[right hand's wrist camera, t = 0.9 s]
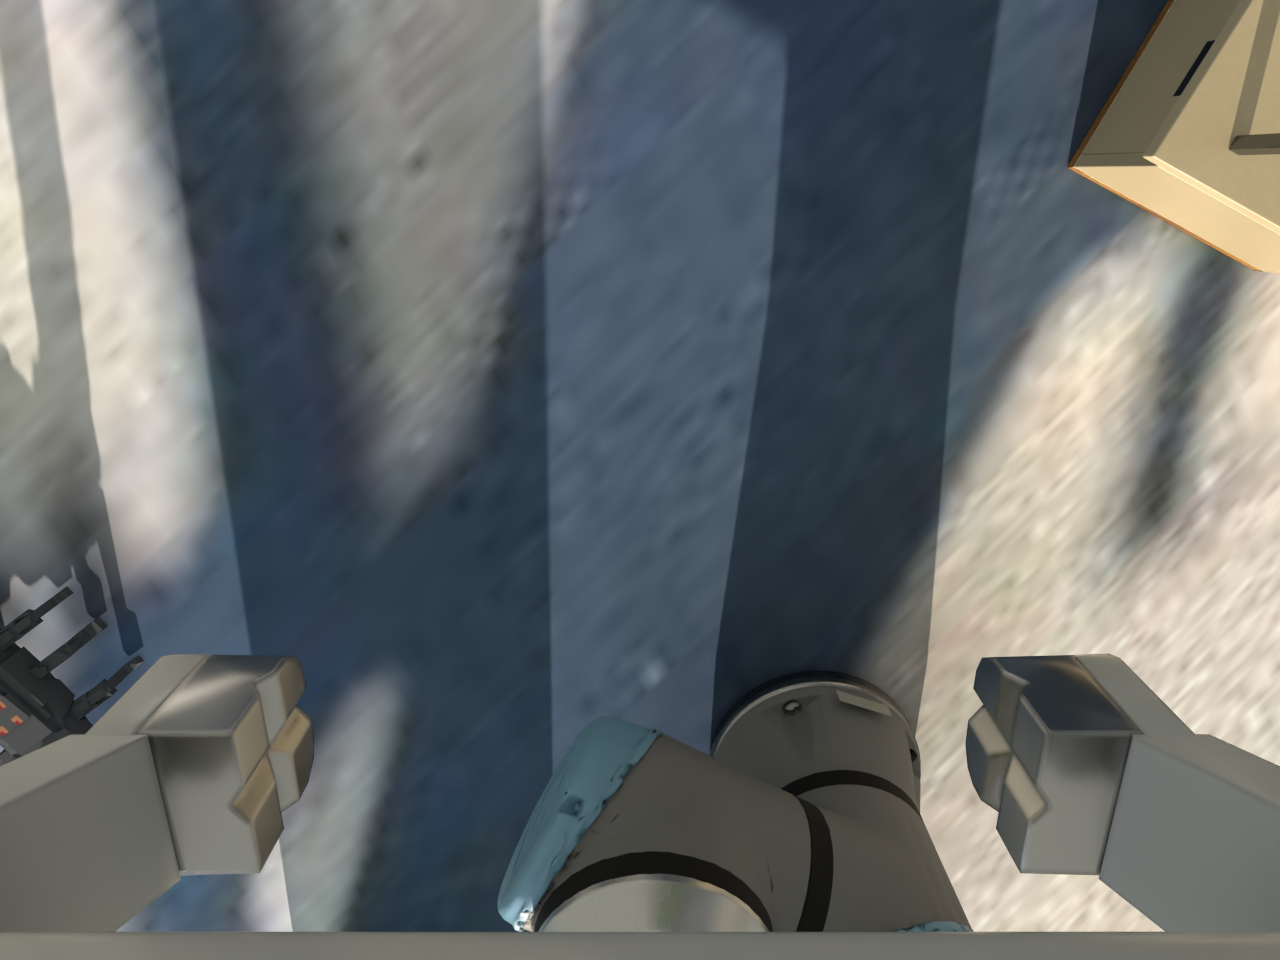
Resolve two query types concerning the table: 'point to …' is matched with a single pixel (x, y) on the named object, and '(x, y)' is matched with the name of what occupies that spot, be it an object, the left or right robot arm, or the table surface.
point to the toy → (44, 687)
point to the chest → (1138, 115)
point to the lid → (1231, 117)
